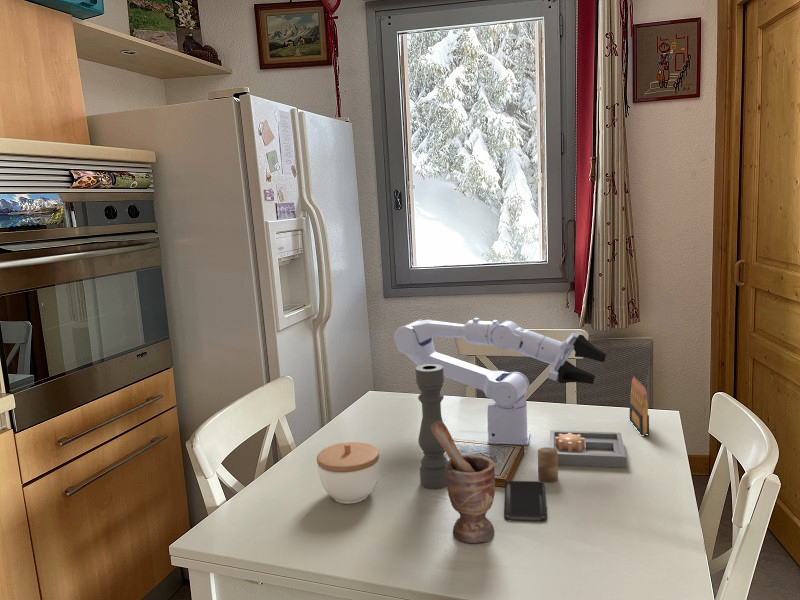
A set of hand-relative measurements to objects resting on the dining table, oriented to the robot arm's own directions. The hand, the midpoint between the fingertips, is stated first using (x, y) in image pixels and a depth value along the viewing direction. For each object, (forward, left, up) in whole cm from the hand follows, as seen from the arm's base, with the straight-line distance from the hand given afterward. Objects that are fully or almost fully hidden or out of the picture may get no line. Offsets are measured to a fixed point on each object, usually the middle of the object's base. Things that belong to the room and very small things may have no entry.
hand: (599, 369), depth 145 cm
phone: (-15, -27, -20) cm, 37 cm away
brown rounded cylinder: (-11, -16, -19) cm, 27 cm away
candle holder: (-34, -21, -20) cm, 44 cm away
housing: (-3, -2, -19) cm, 20 cm away
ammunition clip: (+10, +15, -20) cm, 27 cm away
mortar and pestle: (-25, -40, -20) cm, 51 cm away
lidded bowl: (-50, -29, -20) cm, 61 cm away
